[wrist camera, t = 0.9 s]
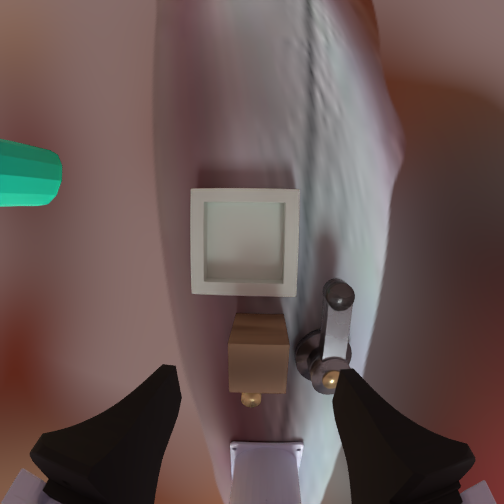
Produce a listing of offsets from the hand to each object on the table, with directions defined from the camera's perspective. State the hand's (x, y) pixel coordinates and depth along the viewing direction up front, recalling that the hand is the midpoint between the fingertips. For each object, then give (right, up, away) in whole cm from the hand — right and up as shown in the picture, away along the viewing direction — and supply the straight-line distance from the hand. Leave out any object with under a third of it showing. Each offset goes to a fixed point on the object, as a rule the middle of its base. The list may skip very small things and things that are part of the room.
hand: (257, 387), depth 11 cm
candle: (-22, +14, +12) cm, 29 cm away
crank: (+6, 0, +11) cm, 12 cm away
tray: (-1, +7, +12) cm, 13 cm away
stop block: (0, -1, +13) cm, 13 cm away
